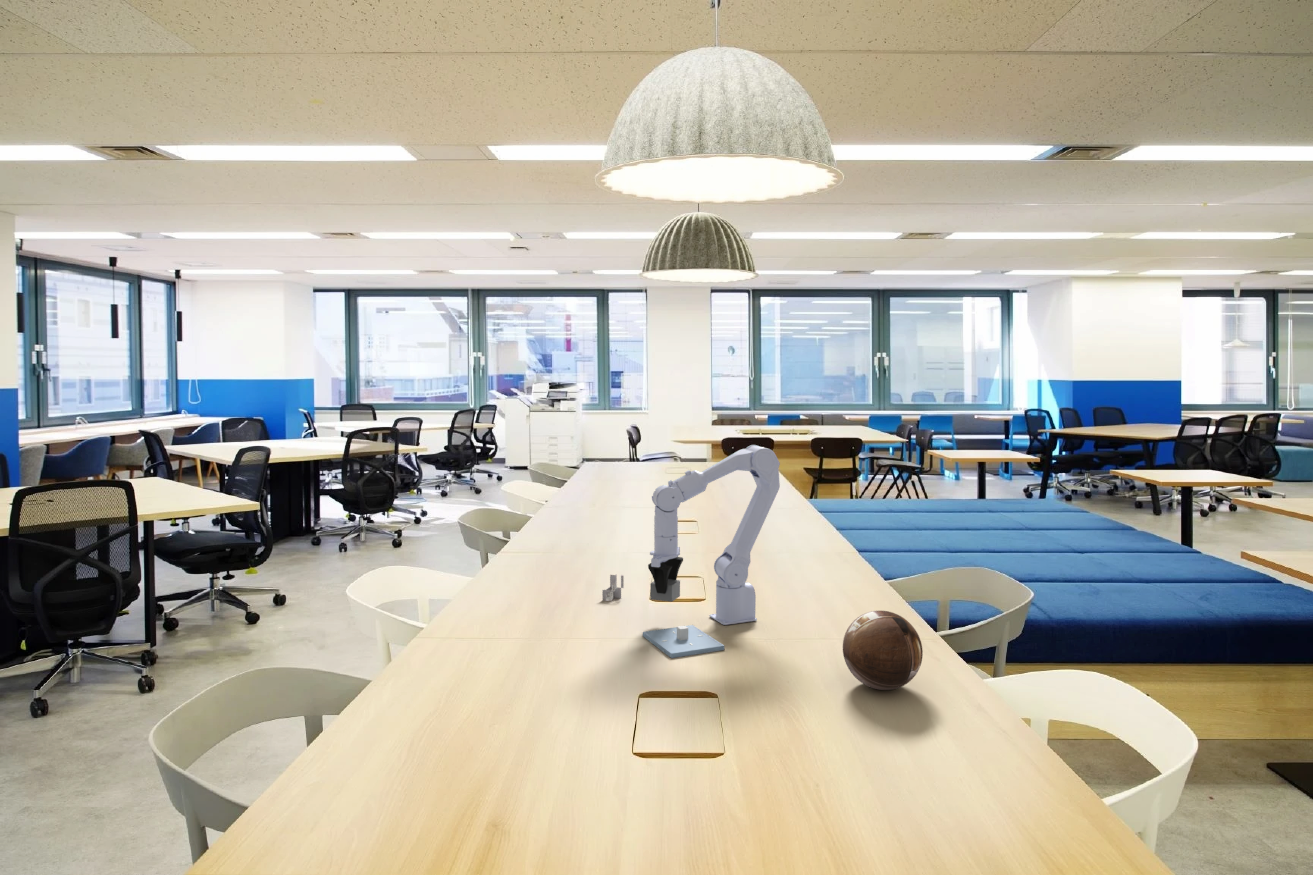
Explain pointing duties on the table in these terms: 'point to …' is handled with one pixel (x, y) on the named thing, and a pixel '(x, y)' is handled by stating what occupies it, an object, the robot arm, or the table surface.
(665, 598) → the grey drawer cabinet
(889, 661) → the wooden sphere
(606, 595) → the architectural model
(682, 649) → the plate
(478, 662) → the table surface
